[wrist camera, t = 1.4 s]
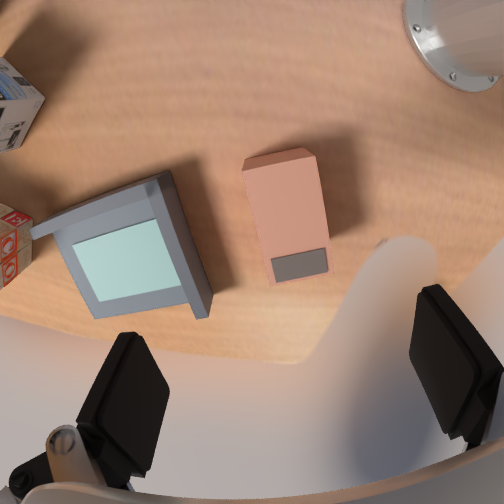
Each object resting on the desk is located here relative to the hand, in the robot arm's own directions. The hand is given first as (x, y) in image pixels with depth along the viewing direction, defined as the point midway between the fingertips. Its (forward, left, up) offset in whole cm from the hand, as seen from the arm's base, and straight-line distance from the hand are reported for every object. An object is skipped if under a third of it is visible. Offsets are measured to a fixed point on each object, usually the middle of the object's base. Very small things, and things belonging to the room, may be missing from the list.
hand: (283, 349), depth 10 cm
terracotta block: (-1, +1, -19) cm, 19 cm away
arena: (+15, +2, -19) cm, 24 cm away
